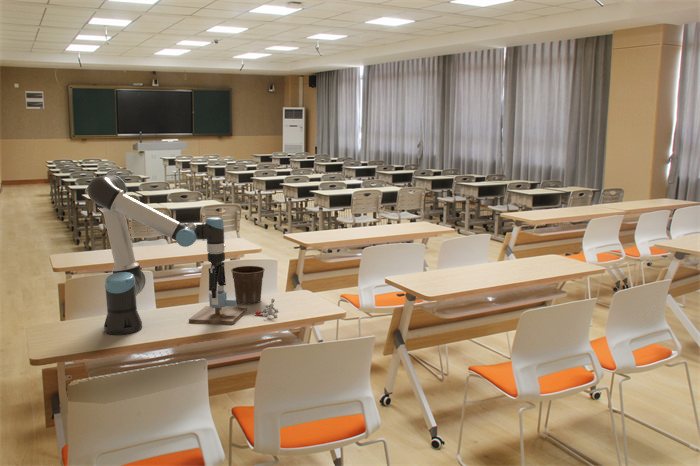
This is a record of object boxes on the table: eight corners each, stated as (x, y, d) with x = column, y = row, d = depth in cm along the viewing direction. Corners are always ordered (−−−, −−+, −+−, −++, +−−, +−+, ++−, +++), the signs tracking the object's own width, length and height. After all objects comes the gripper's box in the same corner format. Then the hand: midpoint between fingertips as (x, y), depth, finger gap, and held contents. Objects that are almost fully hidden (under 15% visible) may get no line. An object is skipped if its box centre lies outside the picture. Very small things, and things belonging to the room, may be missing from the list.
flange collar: (207, 307, 264) (207, 294, 263) (213, 303, 270) (213, 290, 270) (233, 308, 262) (232, 295, 261) (238, 304, 269) (237, 291, 268)
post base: (188, 322, 259) (187, 299, 257) (205, 309, 279) (204, 287, 277) (232, 324, 256) (231, 301, 255) (246, 310, 276) (246, 289, 274)
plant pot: (266, 296, 301) (265, 265, 298) (264, 305, 285) (263, 272, 282) (234, 296, 299) (233, 265, 297) (230, 306, 284) (228, 273, 281)
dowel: (219, 317, 261) (219, 310, 260) (220, 316, 262) (220, 309, 261) (222, 317, 261) (221, 310, 260) (222, 317, 262) (222, 309, 261)
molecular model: (257, 328, 264) (278, 320, 264) (251, 313, 262) (272, 305, 262) (259, 316, 278) (279, 308, 278) (253, 301, 276) (273, 294, 276)
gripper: (216, 257, 252) (218, 308, 256) (231, 248, 272) (233, 296, 276) (199, 256, 253) (201, 308, 257) (216, 247, 273) (218, 295, 277)
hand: (218, 302), depth 266 cm, fingers closed on flange collar, 7 cm apart
